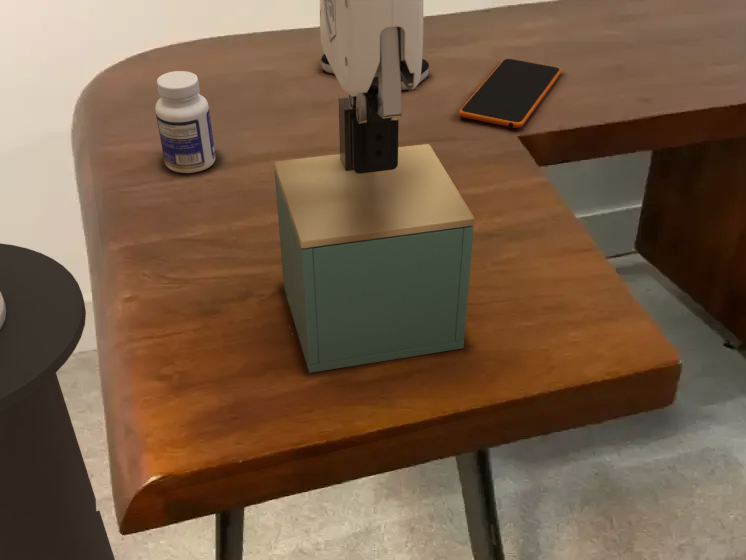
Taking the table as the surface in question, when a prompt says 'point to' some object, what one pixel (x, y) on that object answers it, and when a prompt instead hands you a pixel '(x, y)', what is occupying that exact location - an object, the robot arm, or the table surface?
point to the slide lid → (368, 195)
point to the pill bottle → (184, 123)
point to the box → (376, 294)
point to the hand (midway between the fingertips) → (373, 165)
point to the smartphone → (510, 93)
